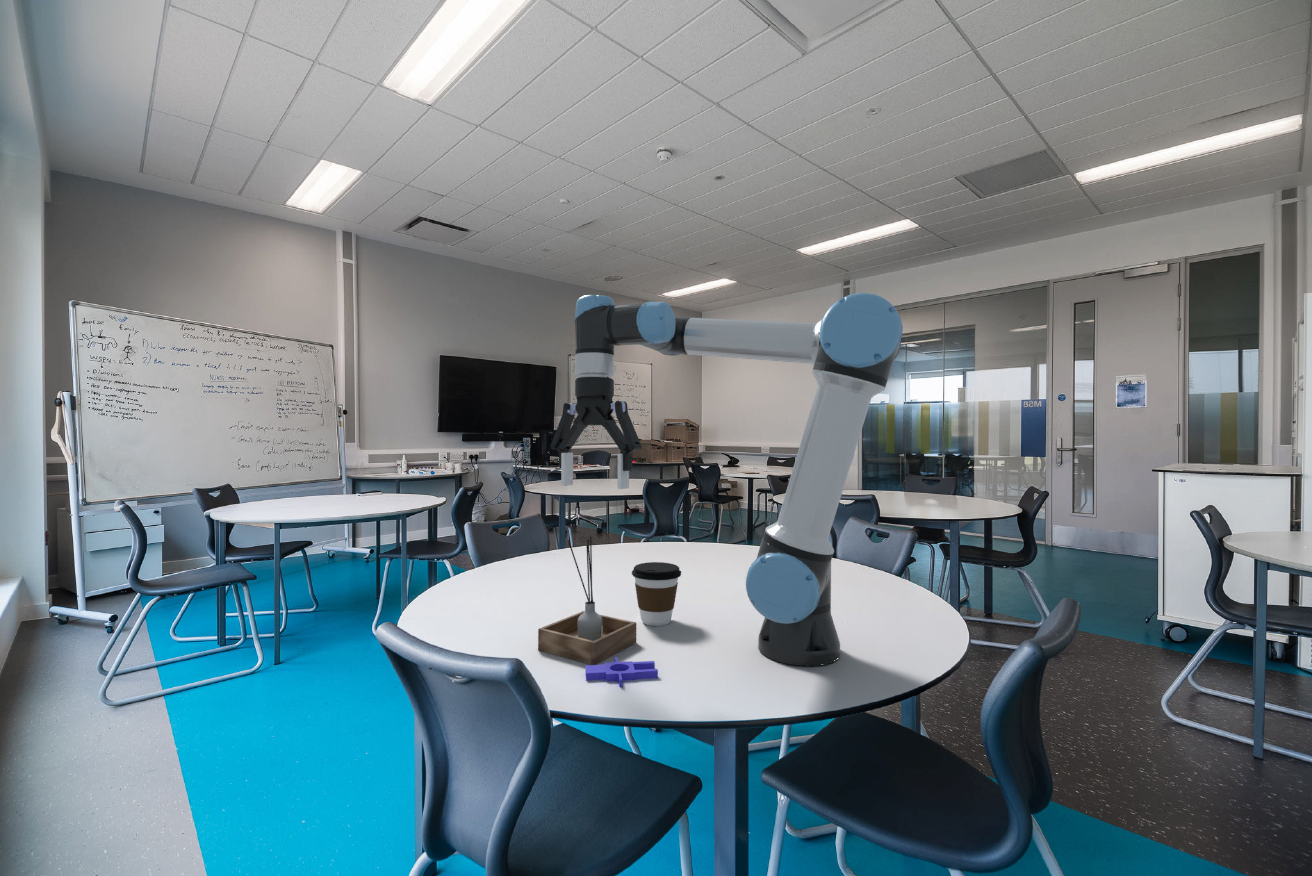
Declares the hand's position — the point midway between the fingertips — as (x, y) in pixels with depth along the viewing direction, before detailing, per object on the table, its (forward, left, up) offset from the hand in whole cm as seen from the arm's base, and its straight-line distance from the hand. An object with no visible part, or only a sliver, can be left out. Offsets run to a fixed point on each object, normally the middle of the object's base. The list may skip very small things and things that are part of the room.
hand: (594, 487), depth 111 cm
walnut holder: (0, +1, -31) cm, 31 cm away
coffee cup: (-3, -19, -31) cm, 36 cm away
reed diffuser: (+1, +1, -30) cm, 30 cm away
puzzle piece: (-12, +8, -31) cm, 35 cm away
